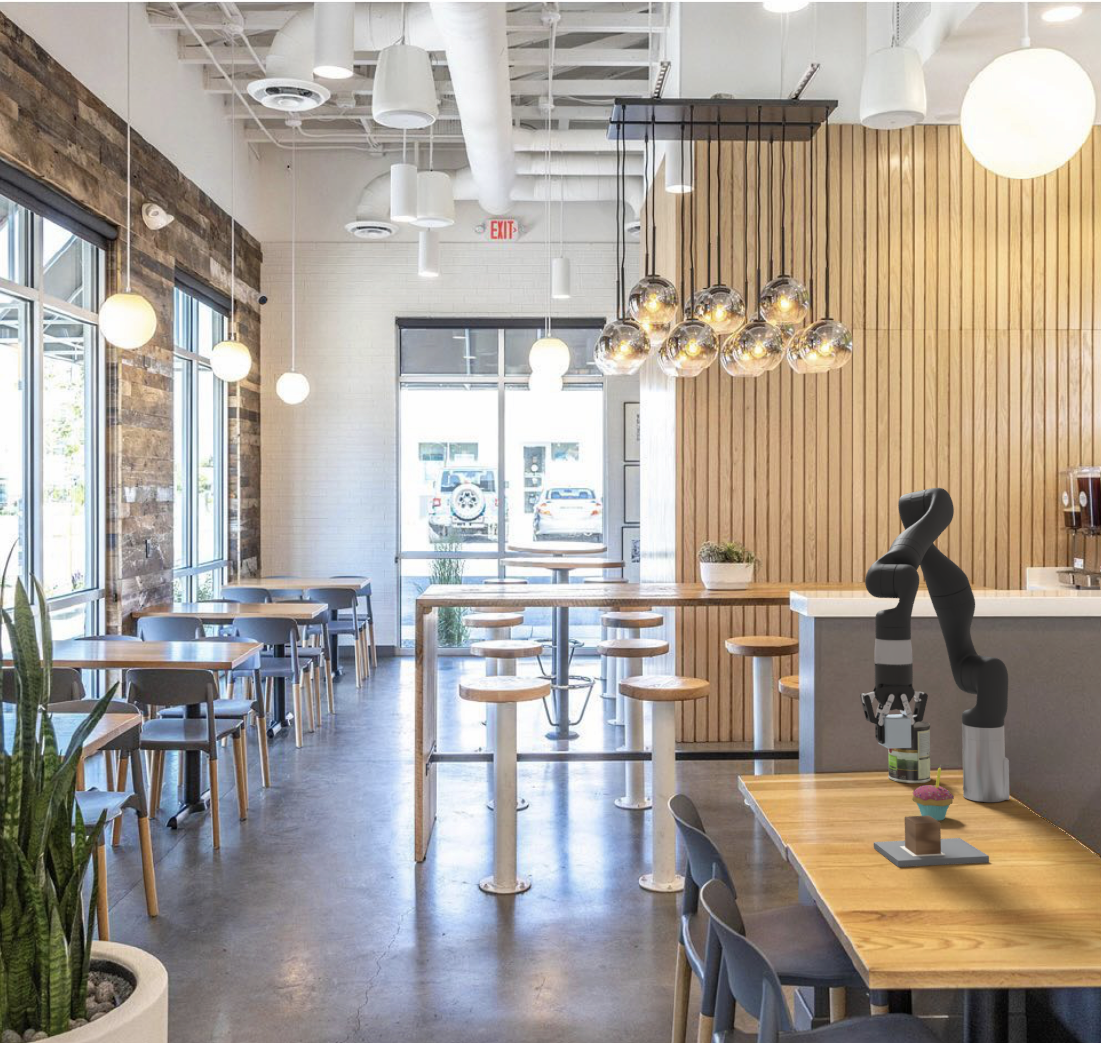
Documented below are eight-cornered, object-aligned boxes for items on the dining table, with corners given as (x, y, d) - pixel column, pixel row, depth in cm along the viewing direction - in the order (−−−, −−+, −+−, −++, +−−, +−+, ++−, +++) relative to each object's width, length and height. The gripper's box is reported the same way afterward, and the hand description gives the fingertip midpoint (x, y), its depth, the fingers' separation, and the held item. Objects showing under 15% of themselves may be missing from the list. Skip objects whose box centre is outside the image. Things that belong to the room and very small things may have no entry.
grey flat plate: (959, 843, 221) (959, 837, 221) (989, 862, 209) (988, 855, 209) (873, 848, 219) (873, 841, 219) (898, 867, 207) (898, 860, 207)
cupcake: (959, 817, 240) (958, 762, 240) (943, 825, 234) (942, 769, 234) (922, 810, 246) (921, 757, 246) (905, 818, 240) (904, 764, 240)
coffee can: (898, 784, 270) (897, 727, 270) (881, 774, 280) (880, 720, 280) (938, 782, 271) (937, 725, 271) (920, 773, 281) (919, 718, 281)
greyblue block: (901, 743, 229) (901, 714, 229) (911, 747, 224) (910, 718, 224) (878, 743, 228) (877, 715, 228) (887, 748, 223) (887, 719, 223)
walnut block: (929, 846, 215) (929, 815, 215) (940, 853, 211) (940, 822, 211) (905, 847, 215) (904, 816, 215) (915, 854, 210) (915, 823, 210)
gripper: (919, 657, 230) (920, 738, 230) (853, 659, 229) (854, 740, 229) (934, 662, 223) (935, 745, 223) (866, 663, 222) (867, 747, 222)
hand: (894, 742), depth 226 cm, fingers closed on greyblue block, 5 cm apart
